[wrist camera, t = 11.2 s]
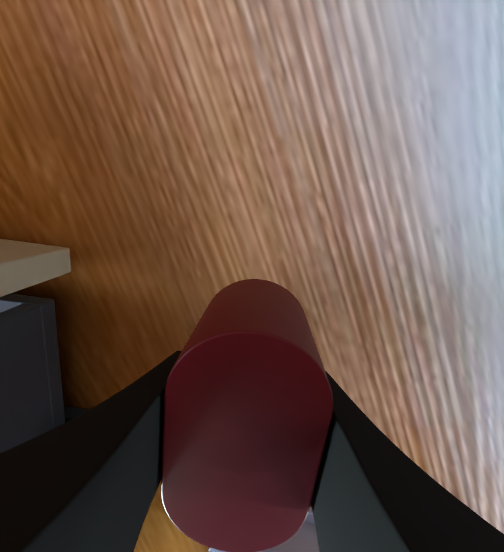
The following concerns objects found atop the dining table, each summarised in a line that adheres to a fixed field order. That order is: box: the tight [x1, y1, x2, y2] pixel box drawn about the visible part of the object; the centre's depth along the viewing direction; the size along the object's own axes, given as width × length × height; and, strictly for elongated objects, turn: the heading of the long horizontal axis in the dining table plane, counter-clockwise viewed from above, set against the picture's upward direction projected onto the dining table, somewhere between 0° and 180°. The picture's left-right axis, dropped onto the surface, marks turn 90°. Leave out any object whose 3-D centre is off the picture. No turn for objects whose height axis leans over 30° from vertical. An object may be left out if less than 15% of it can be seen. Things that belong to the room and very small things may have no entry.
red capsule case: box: [161, 279, 333, 552], centre depth 9 cm, size 4×7×4 cm, turn 173°
